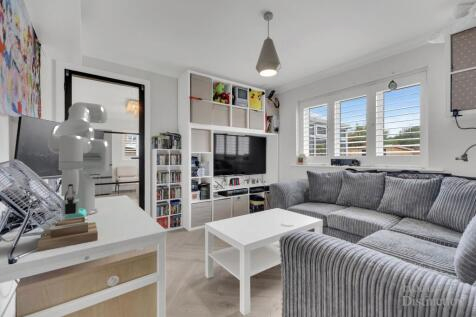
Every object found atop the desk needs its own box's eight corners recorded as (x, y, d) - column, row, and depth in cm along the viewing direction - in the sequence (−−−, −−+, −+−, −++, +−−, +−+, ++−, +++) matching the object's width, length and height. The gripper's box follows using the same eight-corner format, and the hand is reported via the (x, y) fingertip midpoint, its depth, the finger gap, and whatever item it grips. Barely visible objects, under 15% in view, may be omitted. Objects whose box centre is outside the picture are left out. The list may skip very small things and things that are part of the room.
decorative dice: (62, 227, 96) (62, 210, 96) (84, 224, 101) (84, 207, 101) (63, 232, 90) (63, 214, 90) (86, 228, 95) (86, 211, 95)
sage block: (63, 213, 84) (63, 200, 84) (78, 211, 87) (78, 199, 87) (62, 215, 80) (62, 202, 80) (78, 213, 83) (78, 201, 83)
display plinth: (44, 236, 85) (44, 219, 85) (95, 228, 95) (95, 213, 95) (38, 251, 72) (38, 231, 72) (97, 240, 83) (97, 222, 83)
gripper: (60, 165, 88) (60, 209, 88) (56, 167, 75) (56, 218, 75) (82, 165, 93) (82, 206, 93) (83, 166, 79) (82, 215, 79)
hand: (70, 211), depth 84 cm, fingers closed on sage block, 5 cm apart
